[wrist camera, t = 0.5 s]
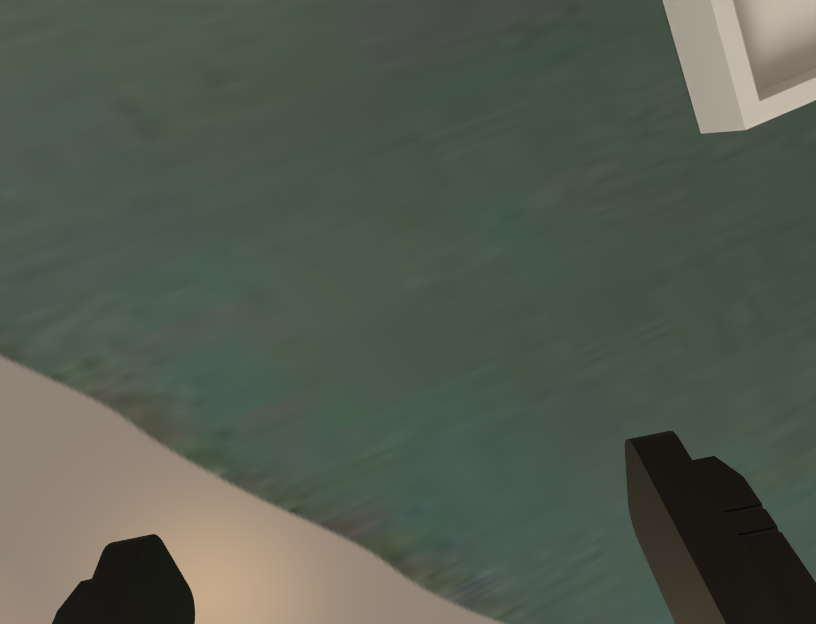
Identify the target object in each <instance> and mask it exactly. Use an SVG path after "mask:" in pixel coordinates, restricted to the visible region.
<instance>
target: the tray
mask: <svg viewBox="0 0 816 624" xmlns="http://www.w3.org/2000/svg"><path fill="white" fill-rule="evenodd" d="M663 4H664V7H665V11H666V14H667V18H668V21H669V25H670V28H671V32H672V35H673V39H674V42H675V46H676V49H677V53H678V56H679V60H680V63H681V67H682V70H683V74H684V77H685V80H686V84H687V87H688V91H689V94H690V98H691V101H692V105H693V108H694V112H695V115H696V119H697V122H698V126H699V129H700V133H701V134H702V133H714V132H727V131H740V130H747V129H749V128H752V127H754V126H756V125H759V124H761V123H763V122H766V121H768V120H770V119H773V118H775V117H777V116H780V115H782V114H784V113H787V112H789V111H791V110H794V109H796V108H798V107H801V106H803V105H805V104H808V103H810V102H812V101H815V100H816V0H663Z"/></svg>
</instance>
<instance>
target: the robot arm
mask: <svg viewBox="0 0 816 624" xmlns="http://www.w3.org/2000/svg"><path fill="white" fill-rule="evenodd" d="M625 460H626V477H627V493H628V506H629V512H630V516H631V520H632V524H633V527H634V531H635V534H636V536H637V539H638V541H639V544H640V546H641V548H642V550H643V553H644V555H645V557H646V559H647V562H648V564H649V566H650V568H651V570H652V573H653V575H654V577H655V579H656V582H657V584H658V586H659V588H660V591H661V593H662V595H663V597H664V599H665V602H666V604H667V606H668V608H669V611H670V613H671V615H672V617H673V620H674V622H675V624H816V582H815V581H814V579H813V578H812V576H811V575H810V573H809V572H808V571H807V569H806V568H805V566H804V565H803V563H802V562H801V560H800V559H799V557H798V556H797V554H796V553H795V552H794V550H793V549H792V547H791V546H790V544H789V543H788V541H787V540H786V538H785V537H784V535H783V534H782V533H781V532H779V531H778V528H777V525H776V524H775V522H774V521H773V519H772V518H771V516H770V515H769V514H768V512H767V511H766V509H763V507H762V503H761V502H760V500H759V499H758V497H757V496H756V495H755V493H754V492H753V490H752V489H751V487H750V486H749V484H748V483H747V481H746V480H745V478H744V477H743V476H742V475H740V474H739V473H737V472H736V471H735V470H733V469H732V468H730V467H729V466H728V465H726V464H725V463H723V462H722V461H721V460H719V459H718V458H716V457H715V456H711V457H706V458H701V459H696V460H692V459H691V458H690V456H689V454H688V453H687V451H686V449H685V448H684V446H683V444H682V443H681V441H680V440H679V438H678V437H677V435H676V434H675V433H674V432H673V431H667V432H662V433H657V434H652V435H647V436H642V437H637V438H632V439H627V440H626V441H625ZM194 622H195V606H194V600H193V595H192V592H191V590H190V588H189V586H188V584H187V582H186V581H185V579H184V577H183V575H182V574H181V572H180V571H179V569H178V567H177V565H176V564H175V562H174V560H173V558H172V557H171V555H170V553H169V552H168V550H167V548H166V546H165V545H164V543H163V541H162V540H161V539H160V538H159V537H158V536H157V535H155V534H152V535H147V536H142V537H138V538H132V539H127V540H122V541H118V542H112V543H110V544H108V545H107V546H106V547H105V549H104V550H103V552H102V555H101V557H100V560H99V562H98V565H97V567H96V570H95V572H94V575H93V578H92V579H90V580H85V581H81V582H80V583H79V584H78V586H77V587H76V588H75V589H74V591H73V592H72V593H71V595H70V596H69V597H68V598H67V600H66V601H65V602H64V603H63V605H62V606H61V607H60V608H59V610H58V611H57V613H56V616H55V618H54V620H53V623H52V624H194Z"/></svg>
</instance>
